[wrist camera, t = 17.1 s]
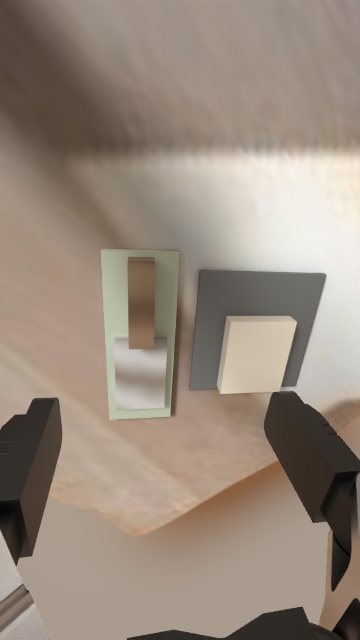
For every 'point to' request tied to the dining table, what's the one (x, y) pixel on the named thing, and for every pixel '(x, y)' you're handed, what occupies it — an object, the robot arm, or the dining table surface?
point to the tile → (254, 353)
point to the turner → (140, 344)
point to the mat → (250, 300)
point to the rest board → (118, 316)
